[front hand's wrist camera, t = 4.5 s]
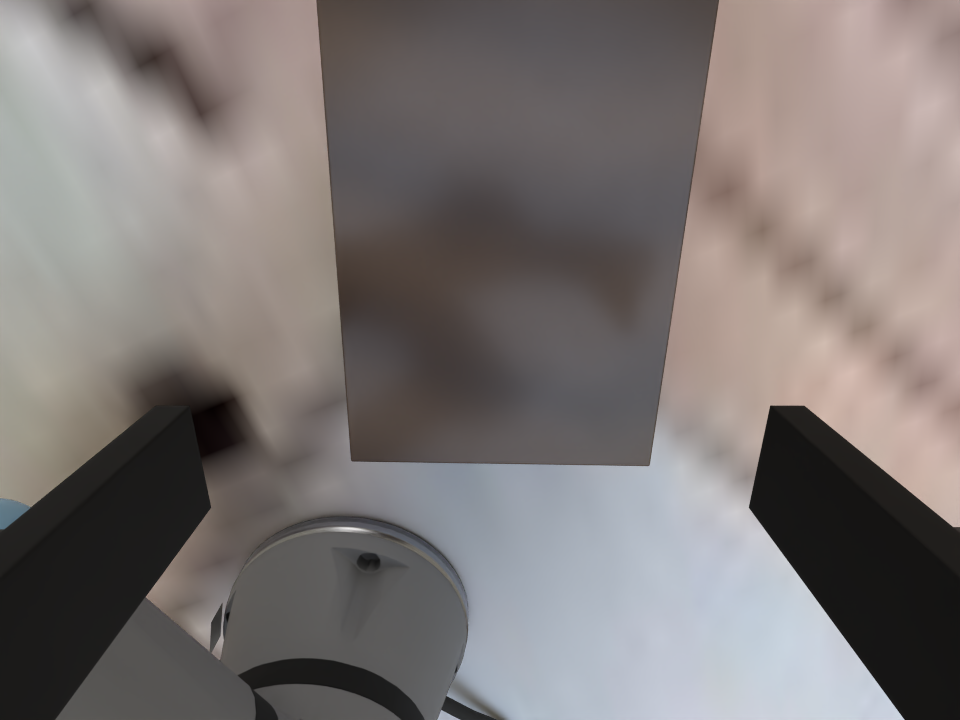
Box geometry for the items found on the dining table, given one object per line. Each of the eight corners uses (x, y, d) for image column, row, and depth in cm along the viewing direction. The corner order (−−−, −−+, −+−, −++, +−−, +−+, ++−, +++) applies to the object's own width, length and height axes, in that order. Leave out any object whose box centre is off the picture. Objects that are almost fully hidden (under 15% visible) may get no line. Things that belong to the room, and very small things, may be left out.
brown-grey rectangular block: (375, -75, 23) (297, -236, 13) (637, -69, 23) (753, -225, 14) (392, 357, 30) (350, 462, 20) (594, 360, 31) (650, 466, 21)
